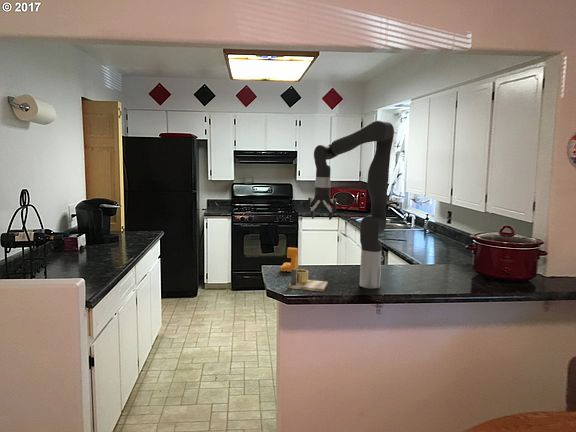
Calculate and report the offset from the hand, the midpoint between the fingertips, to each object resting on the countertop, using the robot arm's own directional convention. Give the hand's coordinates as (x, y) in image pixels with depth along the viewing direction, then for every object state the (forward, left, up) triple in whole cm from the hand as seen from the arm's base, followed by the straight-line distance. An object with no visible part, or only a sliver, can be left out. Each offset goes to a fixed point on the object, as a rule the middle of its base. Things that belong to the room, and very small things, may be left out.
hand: (321, 219), depth 226 cm
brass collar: (+5, +20, -27) cm, 34 cm away
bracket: (+16, -2, -28) cm, 33 cm away
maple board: (+1, +22, -28) cm, 36 cm away
